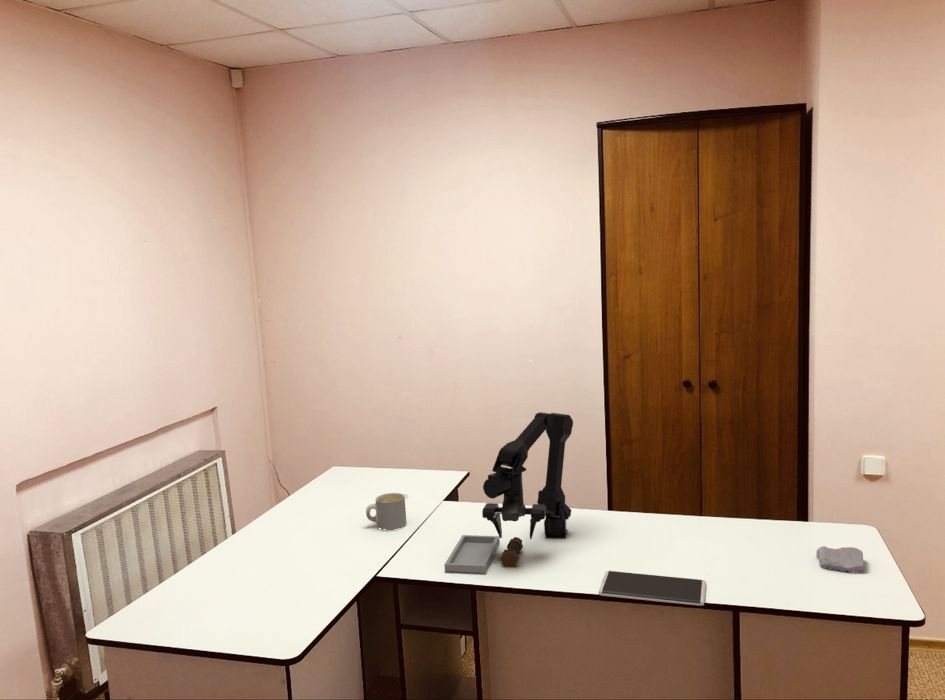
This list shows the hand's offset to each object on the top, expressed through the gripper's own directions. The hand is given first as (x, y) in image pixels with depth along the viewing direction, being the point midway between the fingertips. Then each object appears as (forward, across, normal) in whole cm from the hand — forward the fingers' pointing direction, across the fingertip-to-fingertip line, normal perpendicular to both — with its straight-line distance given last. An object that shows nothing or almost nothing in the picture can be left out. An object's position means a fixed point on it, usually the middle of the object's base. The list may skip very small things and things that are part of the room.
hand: (515, 538), depth 225 cm
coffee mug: (+6, -49, +21) cm, 54 cm away
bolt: (+6, -1, 0) cm, 6 cm away
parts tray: (+6, -13, -2) cm, 14 cm away
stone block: (+6, +91, +3) cm, 91 cm away
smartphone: (+6, +40, -17) cm, 44 cm away
